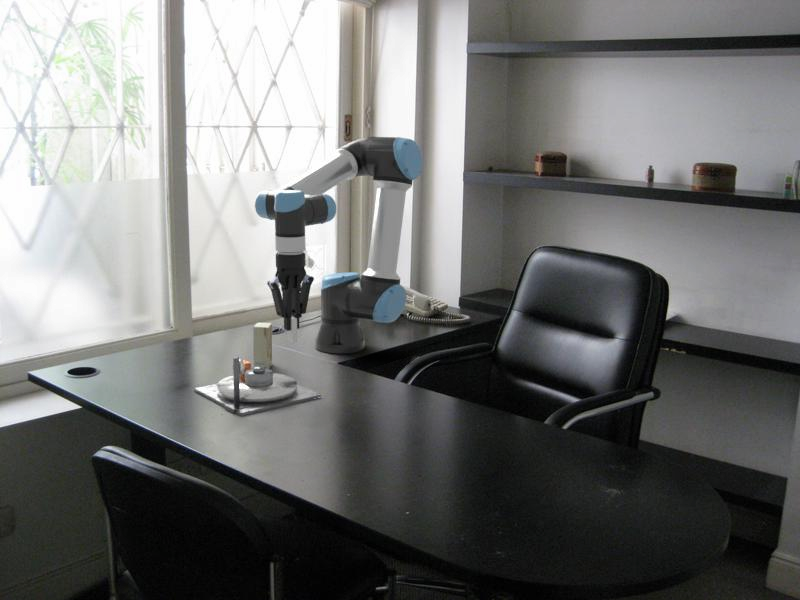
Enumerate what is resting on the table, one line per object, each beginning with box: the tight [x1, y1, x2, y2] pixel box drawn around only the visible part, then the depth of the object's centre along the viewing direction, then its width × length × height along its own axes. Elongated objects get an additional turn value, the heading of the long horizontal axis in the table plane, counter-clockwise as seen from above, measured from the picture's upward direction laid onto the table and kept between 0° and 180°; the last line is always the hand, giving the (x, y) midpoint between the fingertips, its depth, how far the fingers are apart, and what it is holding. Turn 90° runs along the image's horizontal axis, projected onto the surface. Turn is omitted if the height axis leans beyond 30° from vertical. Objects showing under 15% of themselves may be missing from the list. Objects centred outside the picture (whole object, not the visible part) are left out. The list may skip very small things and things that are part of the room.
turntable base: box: [194, 383, 322, 417], centre depth 217 cm, size 23×23×1 cm
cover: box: [245, 366, 274, 388], centre depth 217 cm, size 7×7×4 cm
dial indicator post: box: [224, 356, 248, 415], centre depth 205 cm, size 4×6×13 cm
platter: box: [216, 359, 298, 402], centre depth 216 cm, size 20×20×5 cm
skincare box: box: [252, 322, 273, 369], centre depth 240 cm, size 6×4×12 cm
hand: (291, 341), depth 222 cm, fingers closed
